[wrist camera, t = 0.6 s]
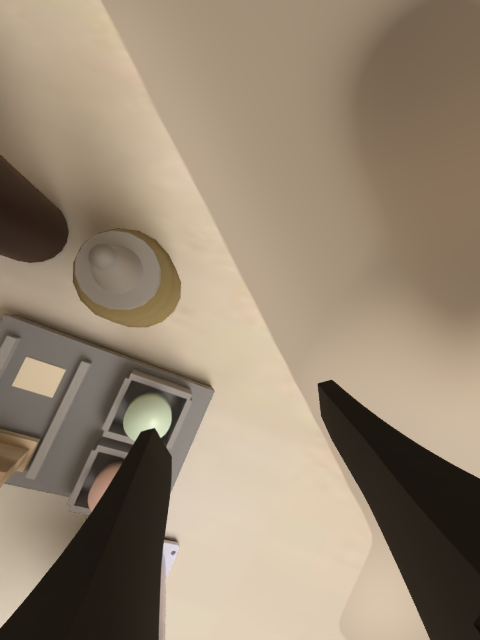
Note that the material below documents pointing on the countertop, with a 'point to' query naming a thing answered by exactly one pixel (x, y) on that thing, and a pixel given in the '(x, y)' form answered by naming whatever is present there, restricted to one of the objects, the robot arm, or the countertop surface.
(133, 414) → the mint button
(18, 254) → the vinegar
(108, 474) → the pink button
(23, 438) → the tan wooden step block
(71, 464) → the panel
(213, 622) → the countertop surface
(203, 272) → the countertop surface
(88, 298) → the squeeze bottle
